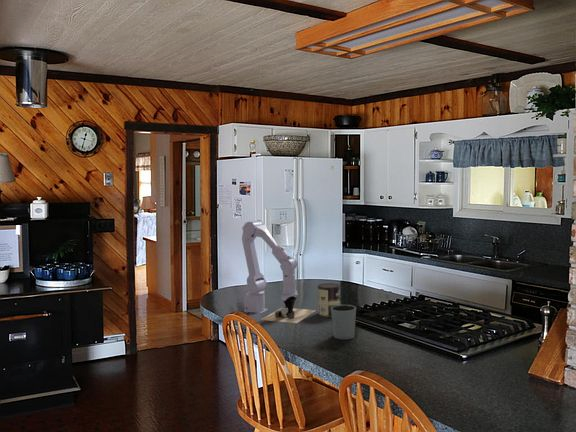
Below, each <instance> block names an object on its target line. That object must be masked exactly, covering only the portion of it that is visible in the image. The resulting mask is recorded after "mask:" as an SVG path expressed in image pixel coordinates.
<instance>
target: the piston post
mask: <svg viewBox="0 0 576 432" xmlns="http://www.w3.org/2000/svg"><path fill="white" fill-rule="evenodd" d="M280 308H281V318H288V307H286V306H282V307H280Z"/></svg>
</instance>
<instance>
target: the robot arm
mask: <svg viewBox="0 0 576 432" xmlns="http://www.w3.org/2000/svg"><path fill="white" fill-rule="evenodd" d="M257 237H259V238H262V240H263V241H264V242H265V243H266V244H267V245H268V247H269V248H270V249H271V254H272V255H273V256H274V258H275V259H276V260H277V262H278V263H279V264H280V265H279V267H280V269H281V271H282V289H283V290H282V291H283V293H282V295H281V296H280V301H281V302H282V301H283V303H284V305H285V306H284V307H288V310H293V308H294V306H295V303H296V301H297V296H298V295H299V294H298V290H297V289H296V269H297V266H298V262H297V259H296V258H294V257H292V256H291V255H290V254H289V253H288V252H287V251H286V250H285V249H286V248H285V246H283V245H279V244H278V243H277V241H276V240H275V239H274V237H273V236H272V234H271V233H270V232H269V230H268V227H267V225H266V224H265V223H264V221H262V219H256V220H253V221H252V220H251V221H247V222H245V224H243V226H242V236H241V241H242V246H243V251H244V257H245V262H246V267H247V271H248V276H247V278H246V290H247V293H245V295H244V297H243V298H244V299H243V300H244V310H243V312H244V313H248V312H249V313H257V314H262V313H264V312H266V311H268V310H269V309H268V308H266V305H265V303H266V302H265V299H266V298H265V293H266V292H265V291H266V290H267V287H268V282H267V280H266V279H265V277H264V274H263V273H261V271H260V270H261V269H260V266H259V260H258V256H257V250H256V245H255V240H256V238H257Z"/></svg>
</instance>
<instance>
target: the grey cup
mask: <svg viewBox="0 0 576 432" xmlns="http://www.w3.org/2000/svg"><path fill="white" fill-rule="evenodd" d="M331 313H332V318H331V320H332V330H333V332H332V333H333V337H334V339H337V340H350V339H351V340H352V339H354V338H355V335H356V331H355V329H356V314H357V307H356V306H354V305H351V304H340V305H336V306H333V307H331Z"/></svg>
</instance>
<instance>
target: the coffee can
mask: <svg viewBox="0 0 576 432" xmlns="http://www.w3.org/2000/svg"><path fill="white" fill-rule="evenodd" d="M340 294H341V293H340V284H338V283H332V282H331V283H330V282H329V283H321V284H317V300H318V301H317V302H318V303H317V304H318V308H317V309H318V315H319V316H322V317H328V318H329V317H330V318H331V319H332V313H331V307H333V306H336V305H341V301H340V300H341V297H340Z"/></svg>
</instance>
